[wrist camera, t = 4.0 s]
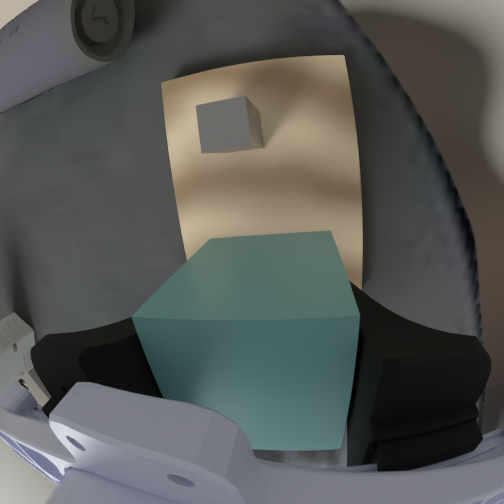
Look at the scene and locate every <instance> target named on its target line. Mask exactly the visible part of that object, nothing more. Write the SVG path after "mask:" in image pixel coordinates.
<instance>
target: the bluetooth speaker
mask: <svg viewBox="0 0 504 504" xmlns="http://www.w3.org/2000/svg"><path fill="white" fill-rule="evenodd" d="M134 22H135V6H134V2H133V0H39V1H38V2H36V3H34V4H33V5H31V6H30V7H29V8H27V9H26V10H24V11H23V12H22V13H20V14H19V15H17V16H16V17H15V18H14V19H12V20H11V21H10V22H8V23H7V24H6V25H5V26H4V27H2V28H1V29H0V114H1V113H3V112H5V111H7V110H9V109H11V108H13V107H15V106H17V105H20V104H23V103H25V102H27V101H29V100H31V99H33V98H35V97H37V96H39V95H41V94H43V93H44V92H46V91H48V90H50V89H52V88H55V87H57V86H59V85H61V84H63V83H65V82H67V81H69V80H72V79H74V78H76V77H79V76H81V75H84V74H86V73H89V72H91V71H94V70H96V69H98V68H100V67H102V66H105V65H107V64H109V63H111V62H113V61H115V60H117V59H119V58H121V57H122V56H123V55H124V54H125V53H126V51H127V50H128V48H129V46H130V44H131V40H132V34H133V29H134Z"/></svg>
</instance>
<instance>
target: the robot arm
mask: <svg viewBox="0 0 504 504" xmlns="http://www.w3.org/2000/svg"><path fill="white" fill-rule="evenodd" d="M349 282H350V285H351V288H352V292H353V295H354V298H355V301H356V304H357V307H358V310H359V313H360V323H359V334H358V344H357V354H356V362H355V370H354V377H353V384H352V391H351V397H350V403H349V409H348V414H347V467H339V468H323V469H318V468H309V467H301V466H294V465H288V464H282V463H276V462H271V461H266V460H261V459H256V458H255V456H254V454H253V450H252V446H251V442H250V440H249V438H248V437H247V436H246V434H245V433H244V432H243V430H242V429H241V428H240V426H239V425H238V424H237V423H236V422H234V421H232V420H230V419H229V418H227V417H225V416H223V415H222V414H220V413H218V412H217V411H215V410H213V409H209V408H206V407H202V406H198V405H195V404H191V403H188V402H182V401H175V400H169V399H164V398H163V395H162V393H161V391H160V389H159V386H158V384H157V382H156V380H155V377H154V375H153V373H152V370H151V368H150V365H149V363H148V360H147V358H146V355H145V353H144V350H143V347H142V345H141V342H140V339H139V337H138V334H137V331H136V328H135V326H134V323H133V320H132V317H130V318H128V319H125V320H122V321H120V322H117V323H113V324H110V325H106V326H103V327H99V328H95V329H90V330H85V331H79V332H71V333H60V334H48V335H46V336H44V337H43V338H42V339H41V340H40V341H39V342H37V343H36V344H35V345H34V346H33V347H32V348H31V351H30V356H31V361H32V364H33V367H34V369H35V371H36V373H37V374H38V376H39V378H40V379H41V381H42V383H43V384H44V386H45V387H46V389H47V391H48V392H49V394H50V395H51V396H52V397H51V398H50V400H49V401H48V402H47V403H46V404H45V405H44V406H43V407H42V406H40V405H38V404H37V401H36V400H35V398H34V397H33V396H32V394H31V393H30V392H29V391H28V390H27V389H26V388H25V387H23V386H21V385H19V384H17V383H16V382H12V383H11V384H10V385H9V386H8V387H7V388H6V389H5V390H4V391H3V392H2V393H1V394H0V437H1V438H2V439H3V440H4V442H5V443H6V444H7V445H8V446H9V447H10V448H11V449H12V450H13V451H14V452H15V453H16V454H17V455H18V456H19V457H20V458H22V459H23V460H24V461H26V462H27V463H28V464H29V465H30V466H32V467H33V468H34V469H36V470H37V471H38V472H40V473H41V474H42V475H43V476H45V477H46V478H48V479H49V480H50V481H52V482H54V483H55V484H56V485H57V486H56V488H55V489H54V491H53V492H52V494H51V495H50V497H49V498H48V500H47V501H46V503H45V504H504V423H503V425H502V427H501V428H499V429H497V430H494V431H492V432H490V433H487V434H484V435H482V434H481V431H480V429H479V426H478V424H477V421H476V418H478V416H479V411H478V409H477V407H476V405H475V404H476V402H477V401H478V399H479V397H480V395H481V393H482V391H483V389H484V387H485V385H486V383H487V381H488V378H489V375H490V372H491V364H492V363H491V359H490V356H489V354H488V353H487V351H486V350H485V348H484V347H483V346H482V344H481V343H480V341H479V340H478V339H477V337H476V336H469V335H461V334H454V333H448V332H444V331H440V330H436V329H432V328H429V327H426V326H423V325H420V324H418V323H415V322H412V321H410V320H408V319H405V318H403V317H401V316H399V315H397V314H395V313H393V312H392V311H390V310H388V309H387V308H385V307H384V306H382V305H380V304H379V303H377V302H376V301H375V300H373V299H372V298H371V297H369V296H368V295H367V294H365V293H364V292H363V291H362V290H360V289H359V288H358V287H357V286H356V285H354V284H353V283H352V282H351V281H349Z"/></svg>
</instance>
